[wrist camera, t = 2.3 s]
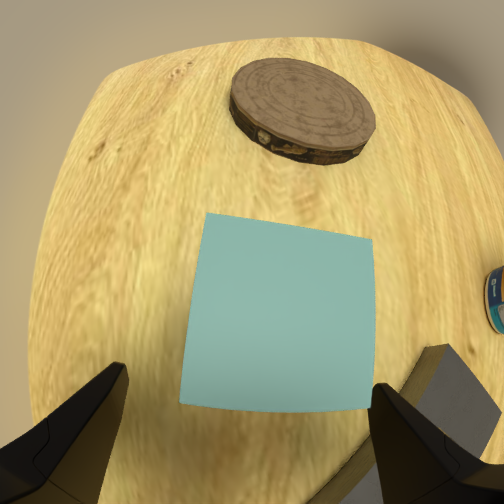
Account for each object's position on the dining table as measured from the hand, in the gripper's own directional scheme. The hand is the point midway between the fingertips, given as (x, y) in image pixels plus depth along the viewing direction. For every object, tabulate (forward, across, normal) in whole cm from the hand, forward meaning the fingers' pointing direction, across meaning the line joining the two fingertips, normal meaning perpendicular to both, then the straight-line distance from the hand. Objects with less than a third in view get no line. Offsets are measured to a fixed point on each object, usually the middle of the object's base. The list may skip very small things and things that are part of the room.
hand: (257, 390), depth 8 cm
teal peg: (+8, 0, +5) cm, 10 cm away
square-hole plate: (0, -16, +13) cm, 21 cm away
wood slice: (+26, -4, -11) cm, 28 cm away
